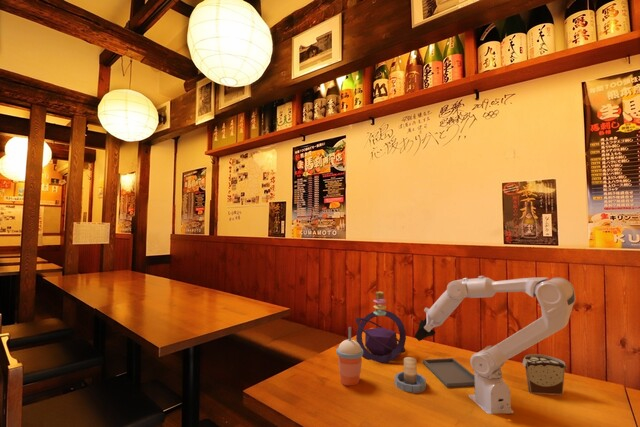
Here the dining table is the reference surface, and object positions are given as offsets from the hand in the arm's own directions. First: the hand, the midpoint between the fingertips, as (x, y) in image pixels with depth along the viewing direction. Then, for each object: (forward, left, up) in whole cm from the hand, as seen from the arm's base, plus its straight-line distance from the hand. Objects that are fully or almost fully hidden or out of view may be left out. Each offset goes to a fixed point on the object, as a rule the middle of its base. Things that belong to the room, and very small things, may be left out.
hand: (420, 333), depth 110 cm
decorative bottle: (+20, +8, -15) cm, 26 cm away
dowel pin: (-7, +7, -14) cm, 17 cm away
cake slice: (-13, -34, -15) cm, 40 cm away
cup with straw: (-2, +26, -15) cm, 30 cm away
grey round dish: (-7, +7, -15) cm, 17 cm away
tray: (-1, -10, -15) cm, 18 cm away
